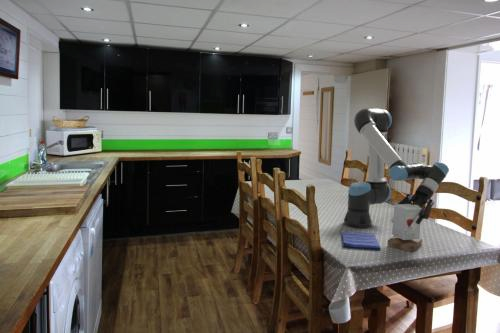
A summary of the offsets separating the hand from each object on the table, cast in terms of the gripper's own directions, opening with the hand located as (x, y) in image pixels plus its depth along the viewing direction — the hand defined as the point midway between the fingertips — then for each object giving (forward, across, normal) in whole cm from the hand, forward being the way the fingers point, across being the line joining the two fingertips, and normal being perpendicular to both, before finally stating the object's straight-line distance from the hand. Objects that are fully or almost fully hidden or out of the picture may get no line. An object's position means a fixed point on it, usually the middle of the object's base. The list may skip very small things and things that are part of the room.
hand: (401, 225), depth 181 cm
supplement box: (+2, 0, -7) cm, 7 cm away
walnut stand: (+5, 0, -9) cm, 11 cm away
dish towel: (+16, +14, 0) cm, 22 cm away
